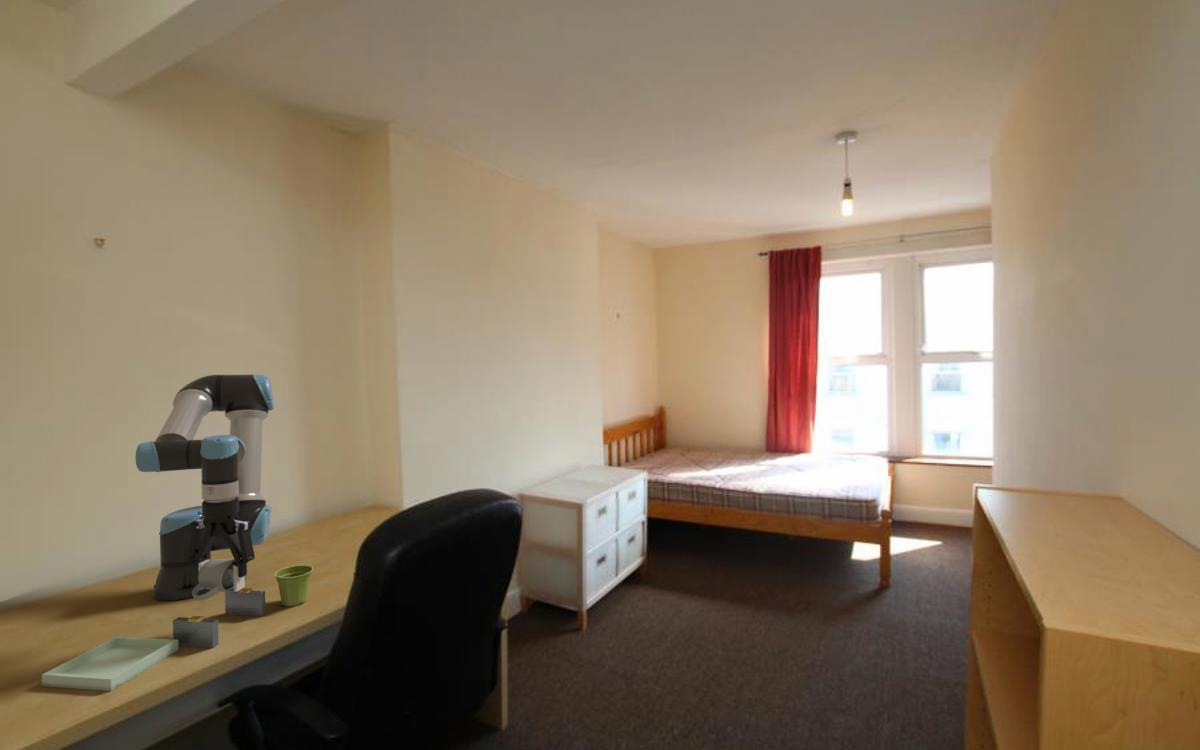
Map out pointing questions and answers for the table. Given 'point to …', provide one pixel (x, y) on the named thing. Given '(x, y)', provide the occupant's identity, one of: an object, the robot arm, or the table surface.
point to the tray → (110, 663)
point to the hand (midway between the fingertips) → (221, 588)
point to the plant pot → (293, 584)
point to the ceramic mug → (215, 578)
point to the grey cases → (206, 630)
